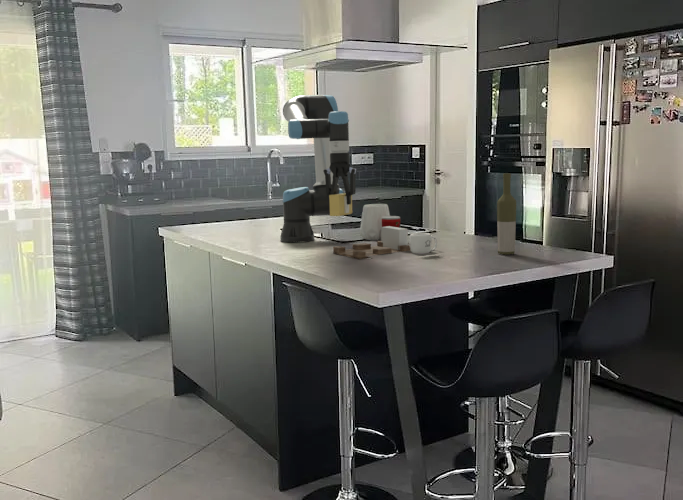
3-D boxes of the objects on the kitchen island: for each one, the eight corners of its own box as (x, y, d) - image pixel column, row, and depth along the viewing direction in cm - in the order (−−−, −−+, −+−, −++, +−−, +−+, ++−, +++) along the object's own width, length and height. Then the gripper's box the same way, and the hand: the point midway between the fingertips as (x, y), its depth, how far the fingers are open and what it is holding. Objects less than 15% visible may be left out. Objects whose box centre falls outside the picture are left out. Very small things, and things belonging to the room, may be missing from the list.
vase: (387, 241, 297) (386, 206, 295) (356, 240, 302) (355, 206, 300) (395, 236, 311) (395, 203, 308) (365, 236, 315) (365, 203, 313)
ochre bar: (339, 216, 262) (338, 195, 261) (330, 216, 264) (329, 195, 263) (352, 213, 273) (351, 193, 272) (343, 213, 274) (342, 193, 273)
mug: (418, 256, 256) (417, 235, 255) (405, 254, 263) (404, 233, 262) (443, 253, 262) (443, 233, 261) (430, 250, 269) (430, 230, 268)
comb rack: (333, 253, 269) (333, 246, 269) (383, 247, 282) (383, 240, 281) (358, 259, 254) (358, 252, 254) (410, 252, 267) (410, 245, 266)
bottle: (519, 254, 255) (521, 173, 250) (505, 256, 252) (506, 174, 247) (506, 252, 261) (507, 172, 257) (492, 253, 258) (493, 173, 253)
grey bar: (381, 246, 277) (381, 226, 276) (389, 245, 279) (389, 226, 278) (399, 250, 267) (399, 229, 266) (407, 249, 269) (407, 228, 268)
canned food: (399, 243, 289) (399, 217, 287) (380, 243, 291) (380, 217, 289) (401, 241, 296) (401, 215, 295) (383, 241, 298) (382, 215, 296)
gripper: (315, 153, 265) (317, 213, 268) (356, 151, 258) (357, 213, 261) (323, 153, 272) (325, 212, 275) (363, 151, 265) (365, 212, 268)
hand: (341, 212), depth 268 cm, fingers closed on ochre bar, 4 cm apart
